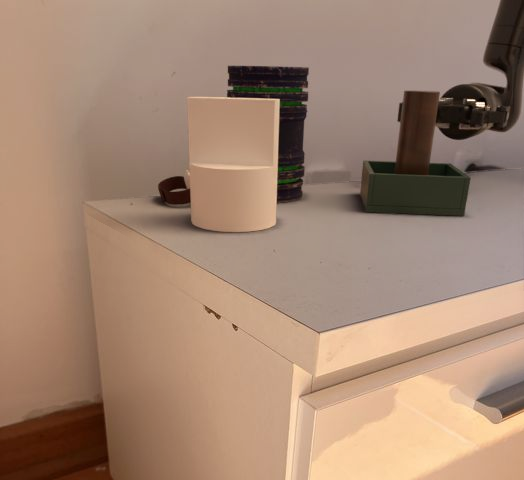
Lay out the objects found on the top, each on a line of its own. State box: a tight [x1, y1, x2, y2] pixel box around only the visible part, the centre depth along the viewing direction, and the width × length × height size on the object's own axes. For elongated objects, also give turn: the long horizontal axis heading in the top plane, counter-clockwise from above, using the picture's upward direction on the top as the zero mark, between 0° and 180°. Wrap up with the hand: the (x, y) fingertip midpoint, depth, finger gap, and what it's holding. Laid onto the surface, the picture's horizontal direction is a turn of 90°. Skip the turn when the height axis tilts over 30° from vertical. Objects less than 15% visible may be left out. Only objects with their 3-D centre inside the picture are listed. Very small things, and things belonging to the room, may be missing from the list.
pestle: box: [394, 90, 441, 175], centre depth 68 cm, size 4×4×12 cm
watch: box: [157, 169, 191, 206], centre depth 68 cm, size 8×5×4 cm, turn 27°
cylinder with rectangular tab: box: [186, 96, 280, 233], centre depth 58 cm, size 9×9×12 cm
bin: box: [359, 159, 472, 217], centre depth 70 cm, size 11×11×4 cm
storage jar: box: [226, 65, 310, 204], centre depth 71 cm, size 10×10×15 cm
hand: (439, 116), depth 73 cm, fingers open, 8 cm apart
